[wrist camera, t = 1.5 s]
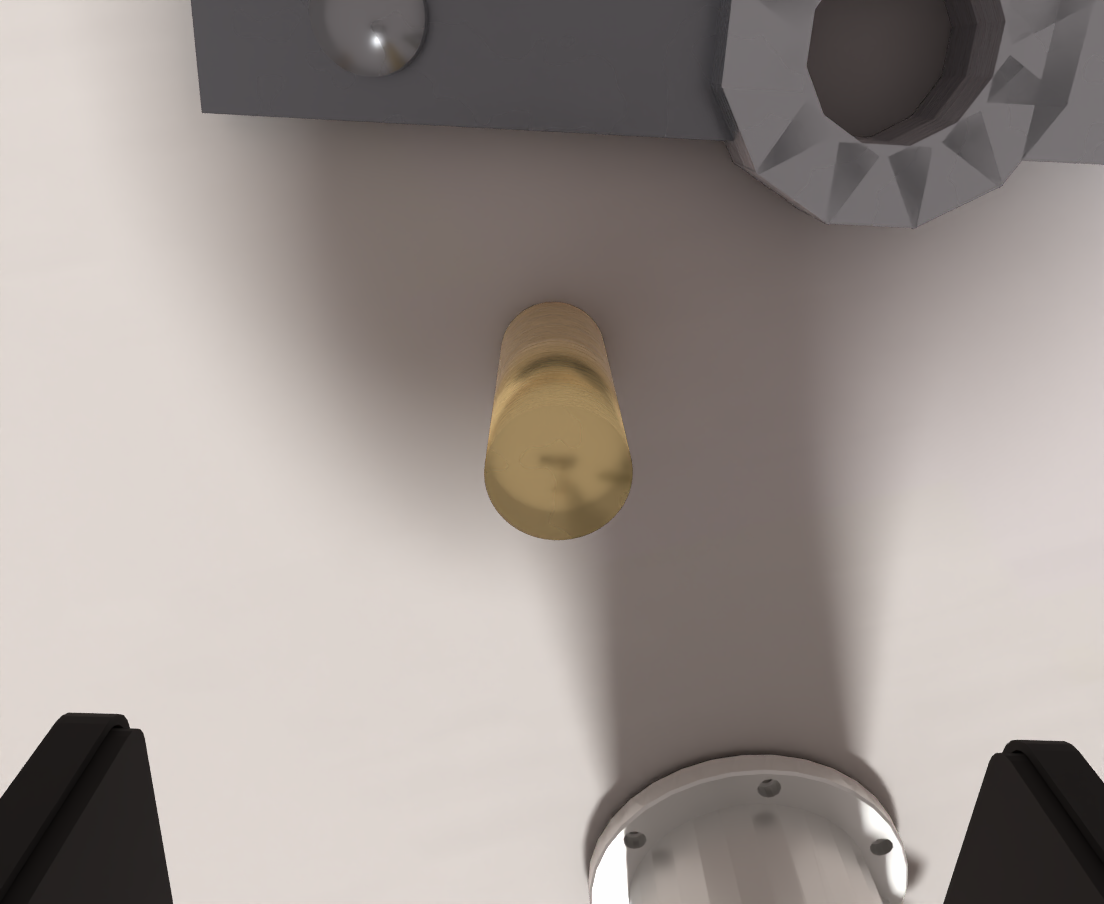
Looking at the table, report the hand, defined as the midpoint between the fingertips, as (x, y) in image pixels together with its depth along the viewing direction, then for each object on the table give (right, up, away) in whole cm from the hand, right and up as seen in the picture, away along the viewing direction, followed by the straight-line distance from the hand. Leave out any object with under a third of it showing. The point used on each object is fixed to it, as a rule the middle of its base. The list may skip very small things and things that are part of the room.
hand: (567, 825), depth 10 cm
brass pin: (0, +7, +17) cm, 19 cm away
